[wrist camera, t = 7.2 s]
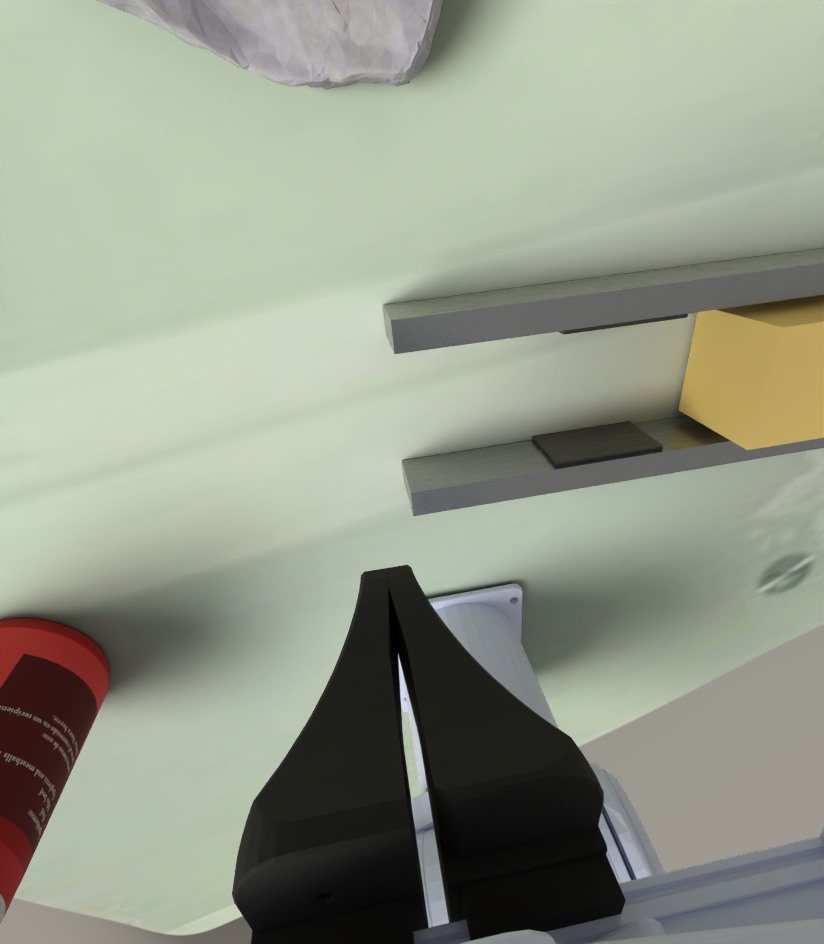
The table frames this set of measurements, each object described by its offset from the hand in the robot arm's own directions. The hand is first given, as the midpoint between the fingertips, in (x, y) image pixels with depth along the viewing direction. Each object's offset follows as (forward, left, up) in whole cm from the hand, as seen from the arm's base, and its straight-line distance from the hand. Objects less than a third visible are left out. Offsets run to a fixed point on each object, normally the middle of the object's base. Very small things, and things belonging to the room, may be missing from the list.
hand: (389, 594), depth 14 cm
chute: (+2, -14, -10) cm, 17 cm away
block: (+2, -18, -10) cm, 21 cm away
